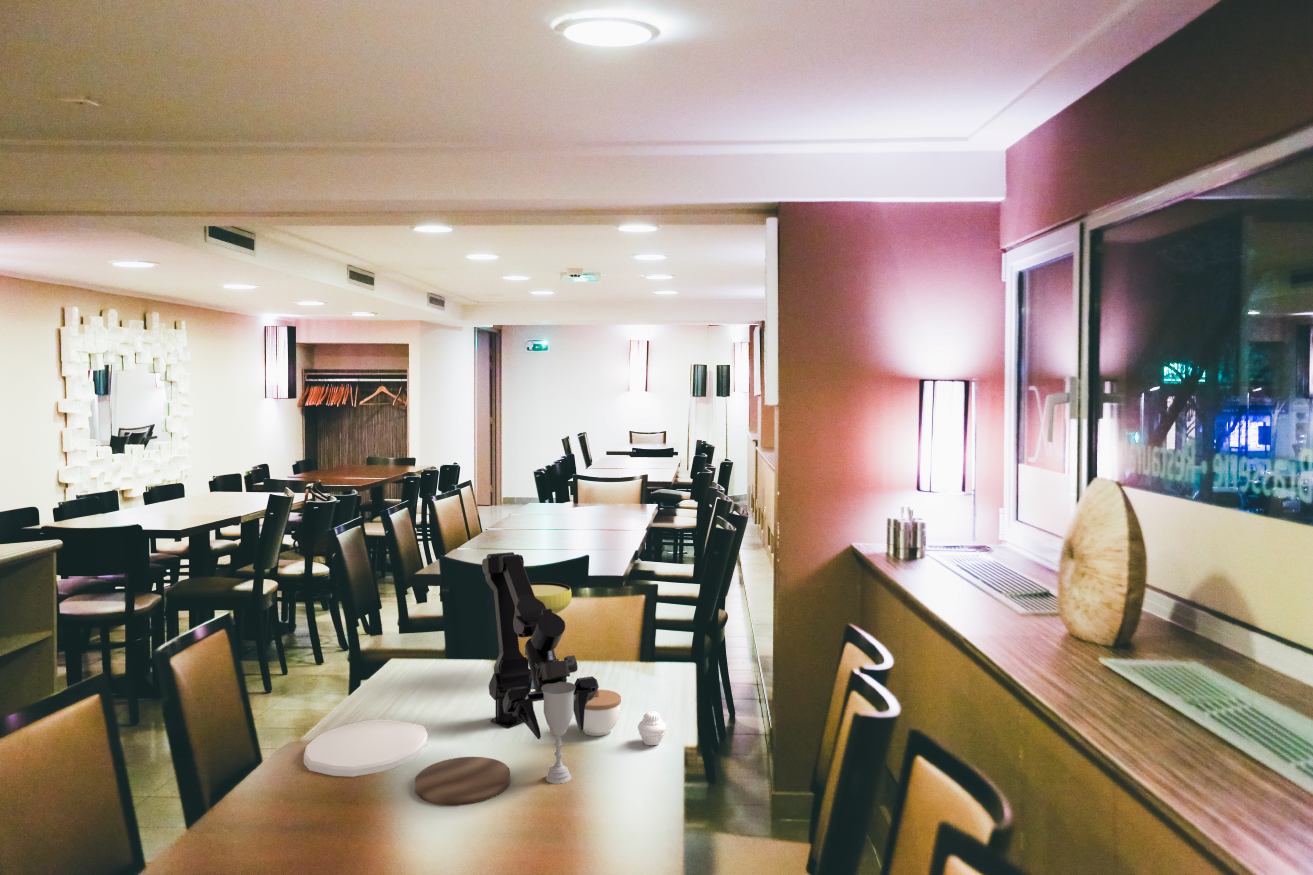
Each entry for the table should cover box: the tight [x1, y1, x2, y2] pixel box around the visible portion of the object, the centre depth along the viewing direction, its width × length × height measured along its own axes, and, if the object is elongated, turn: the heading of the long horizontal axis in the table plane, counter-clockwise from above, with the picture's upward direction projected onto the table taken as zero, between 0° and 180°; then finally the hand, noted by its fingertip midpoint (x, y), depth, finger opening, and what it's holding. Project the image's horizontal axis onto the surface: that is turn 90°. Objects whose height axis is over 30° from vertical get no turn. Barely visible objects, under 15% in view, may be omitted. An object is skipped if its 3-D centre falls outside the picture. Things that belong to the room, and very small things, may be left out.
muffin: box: [637, 710, 667, 746], centre depth 182 cm, size 6×6×7 cm
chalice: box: [541, 681, 576, 785], centre depth 164 cm, size 7×7×18 cm
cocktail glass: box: [515, 581, 573, 690], centre depth 222 cm, size 18×18×25 cm
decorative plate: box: [303, 718, 429, 778], centre depth 178 cm, size 25×4×25 cm
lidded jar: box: [575, 688, 622, 737], centre depth 189 cm, size 11×11×9 cm
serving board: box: [414, 756, 511, 806], centre depth 162 cm, size 18×18×2 cm
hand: (560, 734), depth 163 cm, fingers open, 8 cm apart
